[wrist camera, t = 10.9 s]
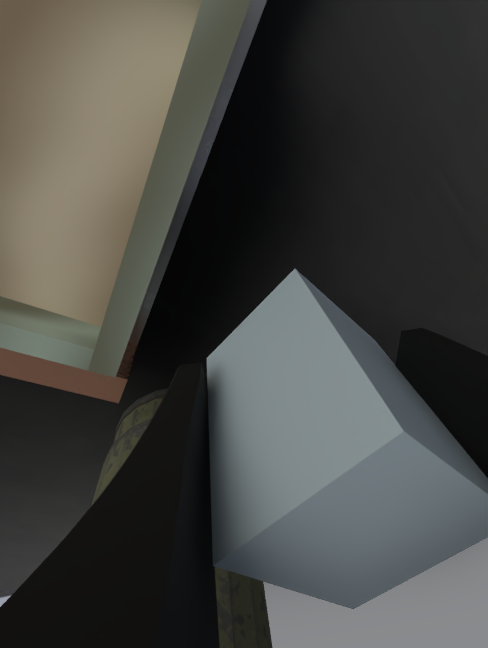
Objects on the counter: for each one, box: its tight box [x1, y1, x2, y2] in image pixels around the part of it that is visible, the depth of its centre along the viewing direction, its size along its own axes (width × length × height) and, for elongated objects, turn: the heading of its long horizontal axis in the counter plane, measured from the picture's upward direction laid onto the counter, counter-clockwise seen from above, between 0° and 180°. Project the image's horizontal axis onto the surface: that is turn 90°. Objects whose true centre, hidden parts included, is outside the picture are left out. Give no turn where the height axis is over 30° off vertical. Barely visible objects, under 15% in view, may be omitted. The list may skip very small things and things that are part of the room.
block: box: [207, 269, 488, 609], centre depth 9 cm, size 4×4×6 cm
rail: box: [0, 0, 267, 403], centre depth 10 cm, size 12×22×4 cm, turn 155°
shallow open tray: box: [0, 0, 251, 378], centre depth 10 cm, size 11×13×4 cm
